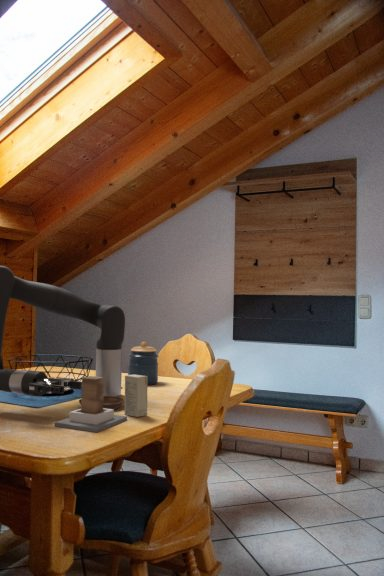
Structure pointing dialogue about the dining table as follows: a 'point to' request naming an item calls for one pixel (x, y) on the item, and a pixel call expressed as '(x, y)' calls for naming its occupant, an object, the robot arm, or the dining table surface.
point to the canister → (144, 363)
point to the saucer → (111, 402)
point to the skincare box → (136, 395)
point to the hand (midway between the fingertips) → (72, 387)
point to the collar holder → (91, 420)
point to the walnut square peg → (92, 395)
